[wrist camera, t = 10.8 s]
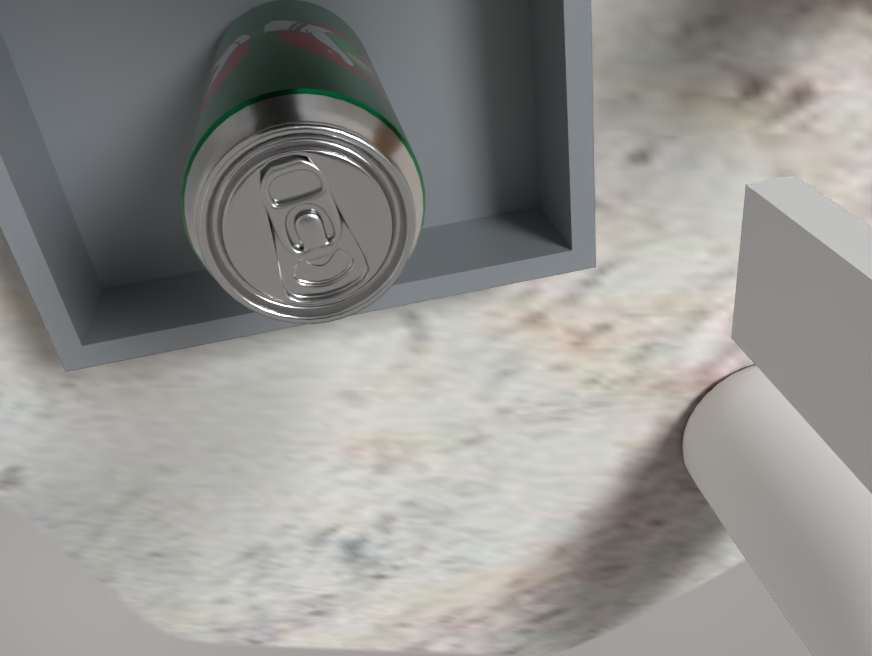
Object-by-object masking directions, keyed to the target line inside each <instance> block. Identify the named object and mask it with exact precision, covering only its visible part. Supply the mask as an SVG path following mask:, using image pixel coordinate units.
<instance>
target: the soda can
mask: <svg viewBox="0 0 872 656" xmlns="http://www.w3.org/2000/svg"><path fill="white" fill-rule="evenodd" d="M425 210H426V204H425V188H424V182H423V177H422V173H421V170H420V167H419V165H418V162H417V159H416V157H415V155H414V152H413V150H412V148H411V146H410V144H409V142H408V140H407V137H406V135H405V133H404V131H403V129H402V127H401V125H400V122H399V120H398V118H397V116H396V114H395V112H394V110H393V107H392V105H391V103H390V101H389V99H388V97H387V95H386V92H385V90H384V88H383V86H382V84H381V82H380V79H379V77H378V75H377V73H376V71H375V69H374V67H373V64H372V62H371V60H370V58H369V56H368V54H367V52H366V49H365V48H364V46H363V44H362V42H361V41H360V39H359V37H358V36H357V35H356V33H355V32H354V31H353V30H352V28H351V27H350V26H349V25H348V24H347V23H346V22H344V21H343V20H342V19H341V18H340V17H338V16H337V15H335V14H334V13H333V12H331V11H329V10H327V9H325V8H323V7H321V6H319V5H316V4H313V3H309V2H306V1H299V0H277V1H272V2H267V3H264V4H261V5H259V6H256V7H254V8H252V9H250V10H248V11H247V12H245V13H244V14H242V15H241V16H240V17H238V18H237V19H236V20H235V21H234V22H233V23H232V24H231V25H230V26H229V27H228V29H227V30H226V31H225V32H224V34H223V36H222V37H221V39H220V41H219V43H218V45H217V47H216V50H215V53H214V56H213V59H212V63H211V67H210V71H209V75H208V79H207V83H206V87H205V91H204V95H203V99H202V103H201V107H200V111H199V115H198V119H197V123H196V127H195V132H194V136H193V140H192V144H191V148H190V152H189V156H188V160H187V164H186V168H185V172H184V176H183V183H182V189H181V213H182V218H183V223H184V228H185V231H186V234H187V237H188V239H189V242H190V245H191V247H192V249H193V250H194V252H195V254H196V256H197V257H198V259H199V261H200V262H201V264H202V265H203V266H204V267H205V269H206V270H207V271H208V272H209V273H210V275H211V276H212V277H213V278H214V279H215V280H216V281H217V282H218V283H219V284H220V286H221V287H222V288H223V289H224V290H225V291H226V292H227V293H228V294H229V295H230V296H231V297H233V298H234V299H235V300H236V301H238V302H239V303H241V304H242V305H244V306H245V307H247V308H248V309H250V310H252V311H254V312H256V313H258V314H260V315H263V316H265V317H268V318H272V319H275V320H278V321H283V322H289V323H298V324H315V323H324V322H330V321H334V320H338V319H342V318H345V317H347V316H350V315H352V314H355V313H357V312H359V311H361V310H363V309H364V308H366V307H368V306H370V305H371V304H372V303H374V302H375V301H376V300H378V299H379V298H380V297H382V296H383V295H384V294H385V293H386V292H387V291H388V290H389V289H390V288H391V287H392V286H393V284H394V283H395V282H396V280H397V279H398V277H399V276H400V275H401V273H402V272H403V270H404V268H405V266H406V264H407V262H408V260H409V259H410V257H411V255H412V253H413V251H414V249H415V247H416V245H417V243H418V241H419V238H420V234H421V231H422V228H423V224H424V217H425Z"/></svg>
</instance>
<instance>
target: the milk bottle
mask: <svg viewBox="0 0 872 656" xmlns="http://www.w3.org/2000/svg"><path fill="white" fill-rule="evenodd" d="M682 444H683V458H684V462H685V466H686V468H687V470H688V472H689V473H690V475H691V477H692V478H693V480H694V482H695V483H696V485H697V487H698V488H699V490H700V491H701V493H702V494H703V496H704V497H705V499H706V500H707V502H708V503H709V505H710V506H711V508H712V509H713V511H714V512H715V514H716V515H717V517H718V518H719V520H720V521H721V523H722V524H723V526H724V527H725V529H726V530H727V532H728V533H729V535H730V536H731V538H732V539H733V541H734V542H735V544H736V545H737V547H738V548H739V550H740V551H741V553H742V554H743V556H744V557H745V559H746V560H747V562H748V563H749V565H750V566H751V568H752V569H753V571H754V572H755V574H756V575H757V577H758V578H759V580H760V581H761V583H762V584H763V586H764V587H765V588H766V590H767V592H768V593H769V594H770V596H771V597H772V599H773V600H774V602H775V603H776V605H777V606H778V608H779V609H780V611H781V612H782V614H783V615H784V617H785V618H786V620H787V621H788V622H789V624H790V625H791V627H792V628H793V630H794V631H795V633H796V634H797V635H798V637H799V638H800V640H801V641H802V642H803V644H804V645H805V646H806V648H807V649H808V651H809V652H810V653H811V655H812V656H872V494H871V493H870V492H869V490H868V489H867V488H866V487H865V486H864V485H863V484H862V483H861V482H860V480H859V479H858V478H857V477H856V476H855V475H854V474H853V473H852V472H851V470H850V469H849V468H848V467H847V466H846V465H845V464H844V463H843V462H842V460H841V459H840V458H839V457H838V456H837V455H836V454H835V453H834V452H833V450H832V449H831V448H830V447H829V446H828V445H827V444H826V443H825V442H824V440H823V439H822V438H821V437H820V436H819V435H818V434H817V433H816V432H815V430H814V429H813V428H812V427H811V426H810V425H809V424H808V423H807V422H806V420H805V419H804V418H803V417H802V416H801V415H800V414H799V413H798V411H797V410H796V409H795V408H794V407H793V406H792V405H791V404H790V403H789V401H788V400H787V399H786V398H785V397H784V396H783V395H782V394H781V393H780V391H779V390H778V389H777V388H776V387H775V386H774V385H773V384H772V383H771V381H770V380H769V379H768V378H767V377H766V376H765V375H764V374H763V373H762V371H761V370H760V369H759V368H758V367H757V366H756V365H754V366H750V367H747V368H745V369H743V370H741V371H739V372H736V373H734V374H732V375H730V376H729V377H728V378H726V379H725V380H723V381H721V382H720V383H718V384H717V385H716V386H715V387H714V388H713V389H712V390H711V391H709V392H708V393H707V394H706V395H705V396H704V397H703V399H702V400H701V401H700V402H699V403H698V404H697V406H696V407H695V409H694V411H693V412H692V414H691V416H690V417H689V419H688V422H687V425H686V427H685V430H684V437H683V442H682Z"/></svg>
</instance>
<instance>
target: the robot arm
mask: <svg viewBox="0 0 872 656" xmlns="http://www.w3.org/2000/svg"><path fill="white" fill-rule="evenodd" d="M731 338H732V339H733V340H734V341H735V343H736V344H737V345H738V346H739V347H740V348H741V349H742V350H743V351H744V353H745V354H746V355H747V356H748V357H749V358H750V359H751V360H752V361H753V363H754V364H755V365H756V366H757V367H758V368H759V369H760V370H761V371H762V373H763V374H764V375H765V376H766V377H767V378H768V379H769V380H770V381H771V383H772V384H773V385H774V386H775V387H776V388H777V389H778V390H779V391H780V393H781V394H782V395H783V396H784V397H785V398H786V399H787V400H788V401H789V403H790V404H791V405H792V406H793V407H794V408H795V409H796V410H797V411H798V413H799V414H800V415H801V416H802V417H803V418H804V419H805V420H806V422H807V423H808V424H809V425H810V426H811V427H812V428H813V429H814V430H815V432H816V433H817V434H818V435H819V436H820V437H821V438H822V439H823V440H824V442H825V443H826V444H827V445H828V446H829V447H830V448H831V449H832V450H833V452H834V453H835V454H836V455H837V456H838V457H839V458H840V459H841V460H842V462H843V463H844V464H845V465H846V466H847V467H848V468H849V469H850V470H851V472H852V473H853V474H854V475H855V476H856V477H857V478H858V479H859V480H860V482H861V483H862V484H863V485H864V486H865V487H866V488H867V489H868V490H869V492H870V493H871V494H872V227H871V226H870V225H868V224H867V223H865V222H864V221H862V220H861V219H859V218H858V217H856V216H855V215H853V214H852V213H850V212H849V211H847V210H846V209H844V208H843V207H841V206H840V205H838V204H837V203H835V202H834V201H832V200H831V199H829V198H828V197H826V196H825V195H823V194H822V193H820V192H819V191H817V190H816V189H814V188H813V187H811V186H810V185H808V184H807V183H805V182H804V181H803V180H801V179H800V178H798V177H797V176H795V175H793V176H788V177H782V178H777V179H772V180H766V181H761V182H756V183H750V184H746V189H745V199H744V210H743V220H742V231H741V242H740V252H739V263H738V273H737V284H736V294H735V305H734V316H733V326H732V337H731Z"/></svg>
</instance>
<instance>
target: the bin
mask: <svg viewBox="0 0 872 656" xmlns="http://www.w3.org/2000/svg"><path fill="white" fill-rule="evenodd" d="M272 1H277V0H0V227H1V230H2V232H3V234H4V236H5V239H6V241H7V243H8V245H9V247H10V250H11V252H12V254H13V256H14V259H15V261H16V263H17V265H18V268H19V270H20V272H21V274H22V276H23V279H24V281H25V283H26V285H27V288H28V290H29V292H30V294H31V296H32V299H33V301H34V303H35V305H36V308H37V310H38V312H39V314H40V316H41V319H42V321H43V323H44V325H45V328H46V330H47V332H48V334H49V337H50V339H51V341H52V343H53V345H54V348H55V350H56V352H57V354H58V357H59V359H60V361H61V363H62V365H63V368H64V370H65V372H67V371H72V370H77V369H82V368H87V367H92V366H97V365H102V364H107V363H112V362H118V361H123V360H128V359H133V358H138V357H143V356H148V355H153V354H158V353H163V352H168V351H173V350H178V349H183V348H189V347H194V346H199V345H204V344H209V343H214V342H219V341H224V340H229V339H234V338H239V337H244V336H249V335H254V334H260V333H265V332H270V331H275V330H280V329H285V328H290V327H295V326H300V325H305V324H298V323H289V322H283V321H278V320H275V319H272V318H268V317H265V316H263V315H260V314H258V313H256V312H254V311H252V310H250V309H248V308H247V307H245V306H244V305H242V304H241V303H239V302H238V301H236V300H235V299H234V298H233V297H231V296H230V295H229V294H228V293H227V292H226V291H225V290H224V289H223V288H222V287H221V286H220V284H219V283H218V282H217V281H216V280H215V279H214V278H213V277H212V276H211V275H210V273H209V272H208V271H207V270H206V269H205V267H204V266H203V265H202V264H201V262H200V261H199V259H198V257H197V256H196V254H195V252H194V250H193V249H192V247H191V245H190V242H189V239H188V237H187V234H186V231H185V228H184V223H183V218H182V213H181V189H182V183H183V176H184V172H185V168H186V164H187V160H188V156H189V152H190V148H191V144H192V140H193V136H194V132H195V127H196V123H197V119H198V115H199V111H200V107H201V103H202V99H203V95H204V91H205V87H206V83H207V79H208V75H209V71H210V67H211V63H212V59H213V56H214V53H215V50H216V47H217V45H218V43H219V41H220V39H221V37H222V36H223V34H224V32H225V31H226V30H227V29H228V27H229V26H230V25H231V24H232V23H233V22H234V21H235V20H236V19H237V18H238V17H240V16H241V15H242V14H244V13H245V12H247V11H248V10H250V9H252V8H254V7H256V6H259V5H261V4H264V3H267V2H272ZM299 1H306V2H309V3H313V4H316V5H319V6H321V7H323V8H325V9H327V10H329V11H331V12H333V13H334V14H335V15H337V16H338V17H340V18H341V19H342V20H343V21H344V22H346V23H347V24H348V25H349V26H350V27H351V28H352V30H353V31H354V32H355V33H356V35H357V36H358V37H359V39H360V41H361V42H362V44H363V46H364V48H365V49H366V52H367V54H368V56H369V58H370V60H371V62H372V64H373V67H374V69H375V71H376V73H377V75H378V77H379V79H380V82H381V84H382V86H383V88H384V90H385V92H386V95H387V97H388V99H389V101H390V103H391V105H392V107H393V110H394V112H395V114H396V116H397V118H398V120H399V122H400V125H401V127H402V129H403V131H404V133H405V135H406V137H407V140H408V142H409V144H410V146H411V148H412V150H413V152H414V155H415V157H416V159H417V162H418V165H419V167H420V170H421V173H422V177H423V182H424V188H425V204H426V210H425V217H424V224H423V228H422V231H421V234H420V238H419V241H418V243H417V245H416V247H415V249H414V251H413V253H412V255H411V257H410V259H409V260H408V262H407V264H406V266H405V268H404V270H403V272H402V273H401V275H400V276H399V277H398V279H397V280H396V282H395V283H394V284H393V286H392V287H391V288H390V289H389V290H388V291H387V292H386V293H385V294H384V295H383V296H382V297H380V298H379V299H378V300H376V301H375V302H374V303H372V304H371V305H370V306H368V307H366V308H364V309H363V310H361V311H359V312H357V313H355V314H352V315H356V314H361V313H366V312H371V311H376V310H381V309H386V308H391V307H397V306H402V305H407V304H412V303H417V302H422V301H427V300H432V299H437V298H442V297H447V296H452V295H457V294H462V293H468V292H473V291H478V290H483V289H488V288H493V287H498V286H503V285H508V284H513V283H518V282H523V281H528V280H533V279H539V278H544V277H549V276H554V275H559V274H564V273H569V272H574V271H579V270H584V269H589V268H594V267H596V243H595V188H594V133H593V77H592V22H591V0H299ZM350 316H351V315H350Z"/></svg>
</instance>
